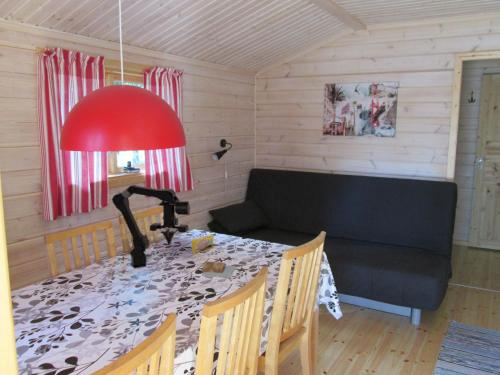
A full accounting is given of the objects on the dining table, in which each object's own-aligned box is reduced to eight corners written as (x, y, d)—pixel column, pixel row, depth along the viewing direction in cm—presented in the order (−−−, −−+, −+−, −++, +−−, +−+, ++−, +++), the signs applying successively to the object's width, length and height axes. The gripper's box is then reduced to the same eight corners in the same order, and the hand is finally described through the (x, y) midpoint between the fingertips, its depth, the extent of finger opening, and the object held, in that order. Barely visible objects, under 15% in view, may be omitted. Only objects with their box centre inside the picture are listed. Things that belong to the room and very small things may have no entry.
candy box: (194, 254, 241) (194, 240, 240) (191, 254, 243) (191, 239, 241) (213, 248, 254) (213, 234, 253) (211, 247, 255) (211, 234, 254)
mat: (202, 275, 209) (202, 275, 209) (209, 264, 225) (209, 264, 225) (230, 277, 207) (230, 276, 207) (236, 266, 223) (236, 266, 223)
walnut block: (202, 265, 213) (222, 267, 212) (205, 261, 220) (224, 262, 218) (202, 271, 213) (222, 273, 212) (205, 267, 220) (224, 268, 219)
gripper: (191, 211, 223) (191, 240, 225) (156, 210, 226) (157, 239, 228) (185, 216, 212) (185, 247, 214) (149, 214, 215) (149, 244, 217)
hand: (169, 244), depth 219 cm, fingers closed
